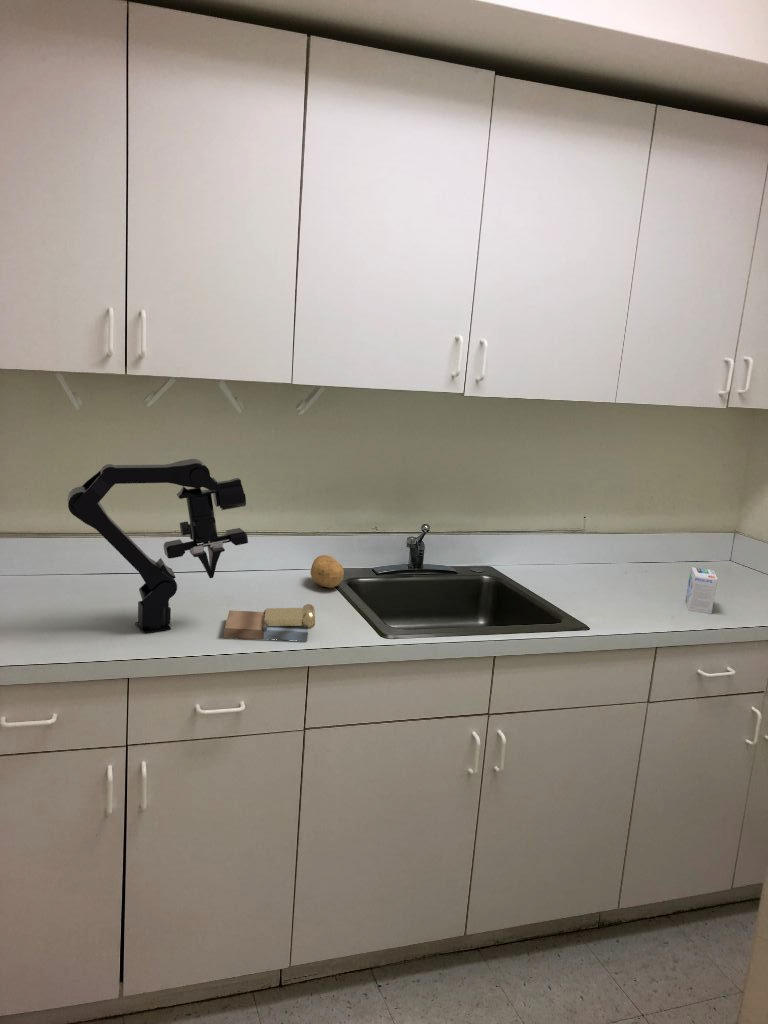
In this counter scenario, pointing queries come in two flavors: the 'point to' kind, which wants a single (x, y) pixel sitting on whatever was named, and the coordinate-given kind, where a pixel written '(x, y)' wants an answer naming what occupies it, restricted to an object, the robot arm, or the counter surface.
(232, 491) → the robot arm
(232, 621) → the wood and metal base
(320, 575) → the potato
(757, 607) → the counter surface
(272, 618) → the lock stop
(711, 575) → the light bulb box
